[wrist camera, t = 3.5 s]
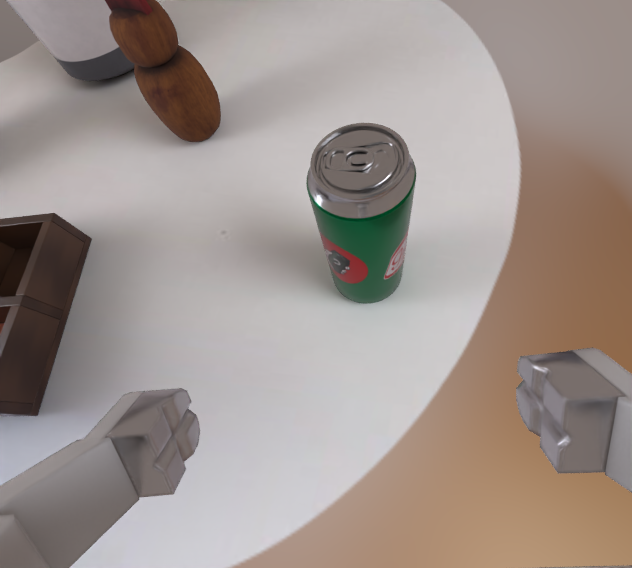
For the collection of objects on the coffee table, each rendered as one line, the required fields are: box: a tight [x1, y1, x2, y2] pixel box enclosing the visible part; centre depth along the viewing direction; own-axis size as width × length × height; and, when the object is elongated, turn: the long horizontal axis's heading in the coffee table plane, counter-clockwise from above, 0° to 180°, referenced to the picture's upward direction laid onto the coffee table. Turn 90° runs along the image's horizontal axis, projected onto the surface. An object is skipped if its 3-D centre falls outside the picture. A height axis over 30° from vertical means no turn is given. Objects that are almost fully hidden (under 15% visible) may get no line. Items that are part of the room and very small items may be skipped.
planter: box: [6, 0, 135, 81], centre depth 39 cm, size 13×13×10 cm
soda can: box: [307, 123, 416, 303], centre depth 20 cm, size 5×5×12 cm
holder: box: [0, 213, 91, 416], centre depth 28 cm, size 15×8×4 cm, turn 0°
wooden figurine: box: [105, 0, 221, 142], centre depth 29 cm, size 7×6×15 cm
